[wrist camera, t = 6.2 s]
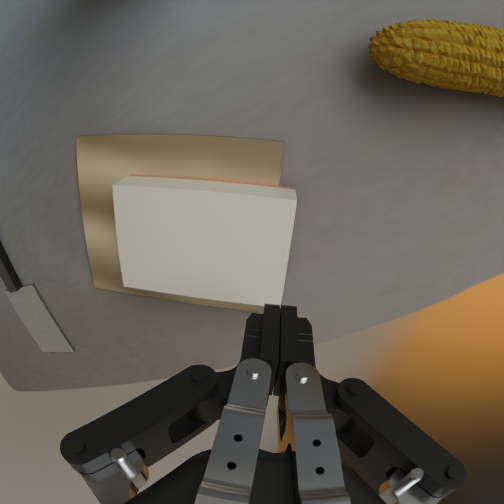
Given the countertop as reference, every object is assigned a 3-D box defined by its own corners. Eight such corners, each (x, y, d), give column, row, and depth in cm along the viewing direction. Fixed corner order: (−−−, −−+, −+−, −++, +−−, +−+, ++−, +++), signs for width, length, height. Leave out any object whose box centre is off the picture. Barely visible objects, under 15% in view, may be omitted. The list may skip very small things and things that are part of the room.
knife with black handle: (-38, 191, 24) (-44, 195, 23) (-14, 170, 22) (-22, 173, 21) (44, 350, 34) (40, 355, 33) (75, 349, 33) (71, 356, 32)
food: (547, 48, 12) (588, 49, 7) (556, 104, 15) (598, 114, 9) (352, 27, 16) (376, 3, 11) (370, 102, 18) (401, 103, 13)
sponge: (294, 187, 21) (131, 174, 21) (297, 200, 18) (112, 185, 19) (280, 285, 25) (137, 266, 25) (280, 307, 22) (123, 286, 23)
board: (79, 136, 21) (76, 137, 20) (283, 141, 20) (283, 142, 20) (96, 284, 27) (94, 287, 27) (263, 309, 27) (263, 312, 26)
